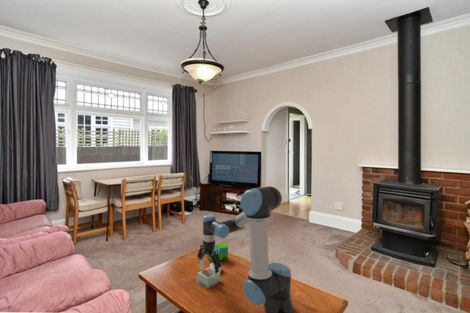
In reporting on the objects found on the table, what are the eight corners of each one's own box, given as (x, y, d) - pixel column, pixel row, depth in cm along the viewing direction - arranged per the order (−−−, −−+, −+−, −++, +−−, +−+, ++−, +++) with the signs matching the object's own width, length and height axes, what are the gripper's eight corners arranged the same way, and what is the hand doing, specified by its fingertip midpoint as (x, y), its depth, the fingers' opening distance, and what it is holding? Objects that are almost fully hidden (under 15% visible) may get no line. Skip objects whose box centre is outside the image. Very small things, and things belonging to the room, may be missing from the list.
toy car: (206, 258, 186) (206, 245, 186) (223, 255, 192) (223, 242, 191) (211, 264, 177) (211, 250, 177) (228, 261, 183) (228, 247, 182)
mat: (222, 280, 157) (222, 280, 157) (207, 288, 148) (207, 288, 148) (209, 273, 165) (209, 273, 165) (195, 281, 156) (195, 280, 156)
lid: (220, 280, 156) (220, 272, 156) (207, 287, 149) (208, 278, 149) (209, 274, 163) (209, 266, 163) (197, 280, 156) (197, 272, 156)
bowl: (223, 270, 169) (223, 265, 168) (215, 275, 163) (215, 269, 163) (215, 266, 174) (215, 261, 173) (207, 270, 168) (207, 265, 168)
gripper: (227, 244, 149) (226, 278, 150) (200, 232, 166) (200, 263, 167) (218, 248, 143) (217, 283, 145) (191, 235, 160) (191, 267, 162)
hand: (208, 273), depth 156 cm, fingers open, 13 cm apart
